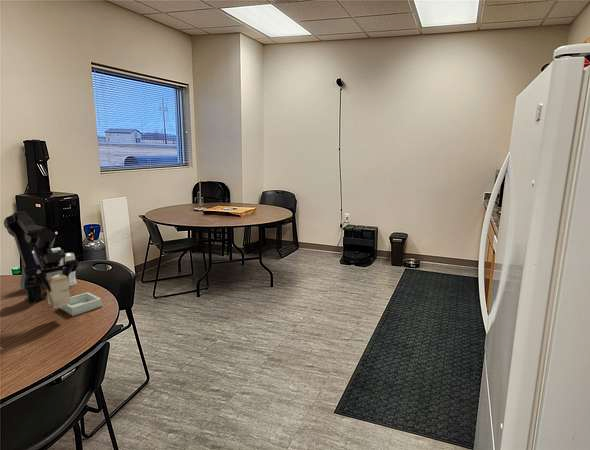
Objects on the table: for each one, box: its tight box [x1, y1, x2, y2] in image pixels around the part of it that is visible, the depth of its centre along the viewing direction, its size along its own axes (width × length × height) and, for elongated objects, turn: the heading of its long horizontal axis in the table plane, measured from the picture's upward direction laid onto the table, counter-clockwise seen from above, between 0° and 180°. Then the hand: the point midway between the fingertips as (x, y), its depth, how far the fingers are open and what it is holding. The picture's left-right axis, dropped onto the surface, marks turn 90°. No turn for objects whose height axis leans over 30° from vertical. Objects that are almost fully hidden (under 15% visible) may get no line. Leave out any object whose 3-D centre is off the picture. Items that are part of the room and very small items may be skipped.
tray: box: [58, 291, 103, 317], centre depth 170 cm, size 12×12×4 cm
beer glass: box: [59, 252, 78, 287], centre depth 195 cm, size 7×7×15 cm
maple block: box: [45, 274, 71, 309], centre depth 157 cm, size 6×6×11 cm
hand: (59, 288), depth 156 cm, fingers closed on maple block, 6 cm apart
